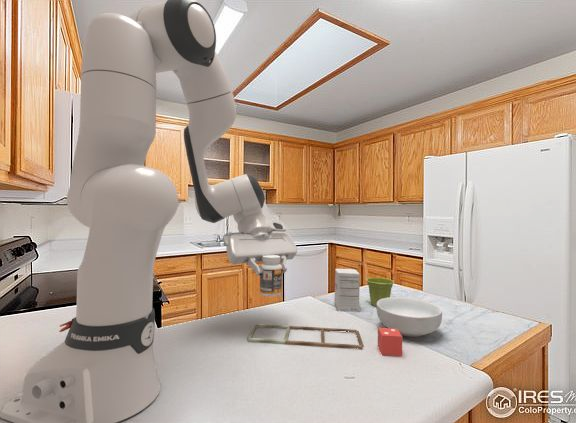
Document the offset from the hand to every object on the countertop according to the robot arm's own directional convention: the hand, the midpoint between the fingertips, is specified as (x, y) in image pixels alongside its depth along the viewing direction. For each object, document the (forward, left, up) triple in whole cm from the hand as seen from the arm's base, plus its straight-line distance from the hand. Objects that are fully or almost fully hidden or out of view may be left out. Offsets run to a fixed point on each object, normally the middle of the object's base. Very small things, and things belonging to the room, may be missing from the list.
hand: (272, 272), depth 75 cm
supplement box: (+22, +26, -16) cm, 37 cm away
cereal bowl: (+37, +9, -16) cm, 41 cm away
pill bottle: (-1, 0, -6) cm, 6 cm away
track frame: (+9, +1, -16) cm, 18 cm away
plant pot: (+34, +31, -16) cm, 48 cm away
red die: (+29, -4, -16) cm, 33 cm away
